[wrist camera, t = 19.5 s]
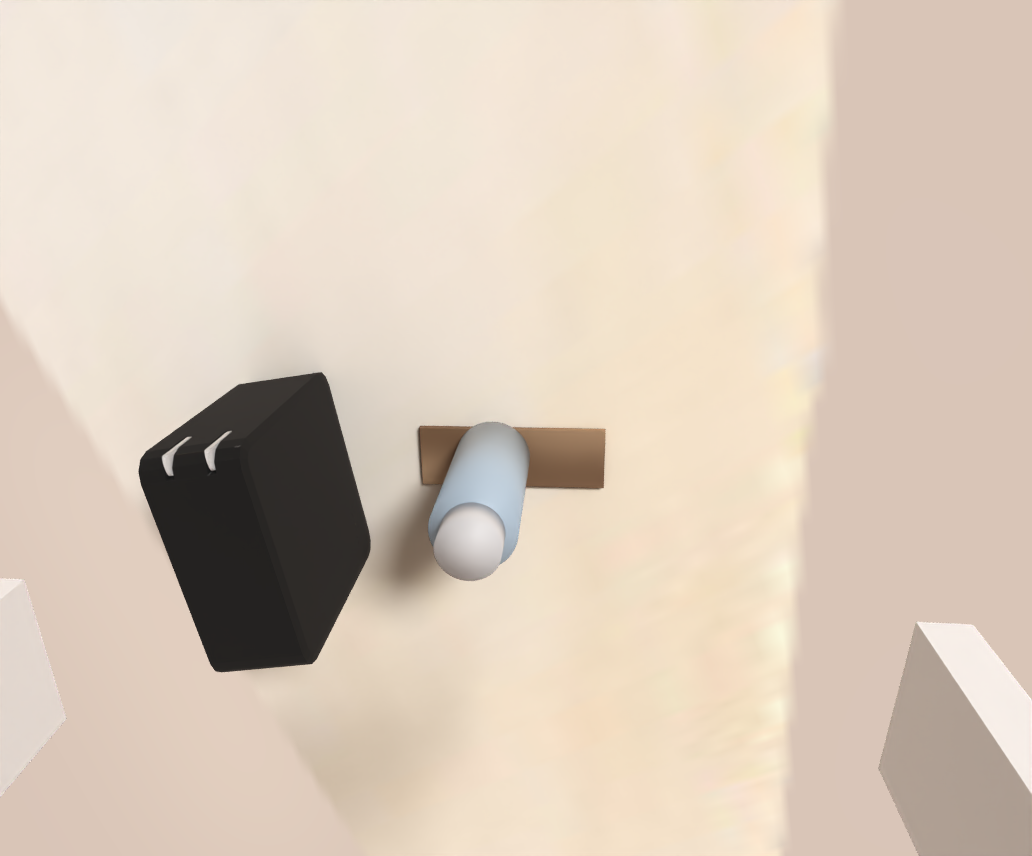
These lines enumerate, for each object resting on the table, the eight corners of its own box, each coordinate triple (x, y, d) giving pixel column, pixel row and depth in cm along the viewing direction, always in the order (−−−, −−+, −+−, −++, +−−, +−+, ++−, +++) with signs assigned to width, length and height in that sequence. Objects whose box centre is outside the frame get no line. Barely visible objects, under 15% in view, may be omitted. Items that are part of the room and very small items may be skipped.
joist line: (195, 422, 37) (192, 424, 37) (605, 429, 36) (605, 431, 35) (204, 476, 38) (202, 478, 38) (603, 485, 37) (603, 488, 36)
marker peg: (455, 420, 36) (418, 506, 27) (530, 422, 36) (515, 510, 27) (458, 488, 37) (422, 589, 29) (529, 490, 37) (515, 593, 28)
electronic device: (300, 555, 40) (215, 682, 30) (244, 378, 36) (129, 462, 27) (375, 546, 39) (311, 673, 30) (326, 366, 36) (236, 447, 26)
